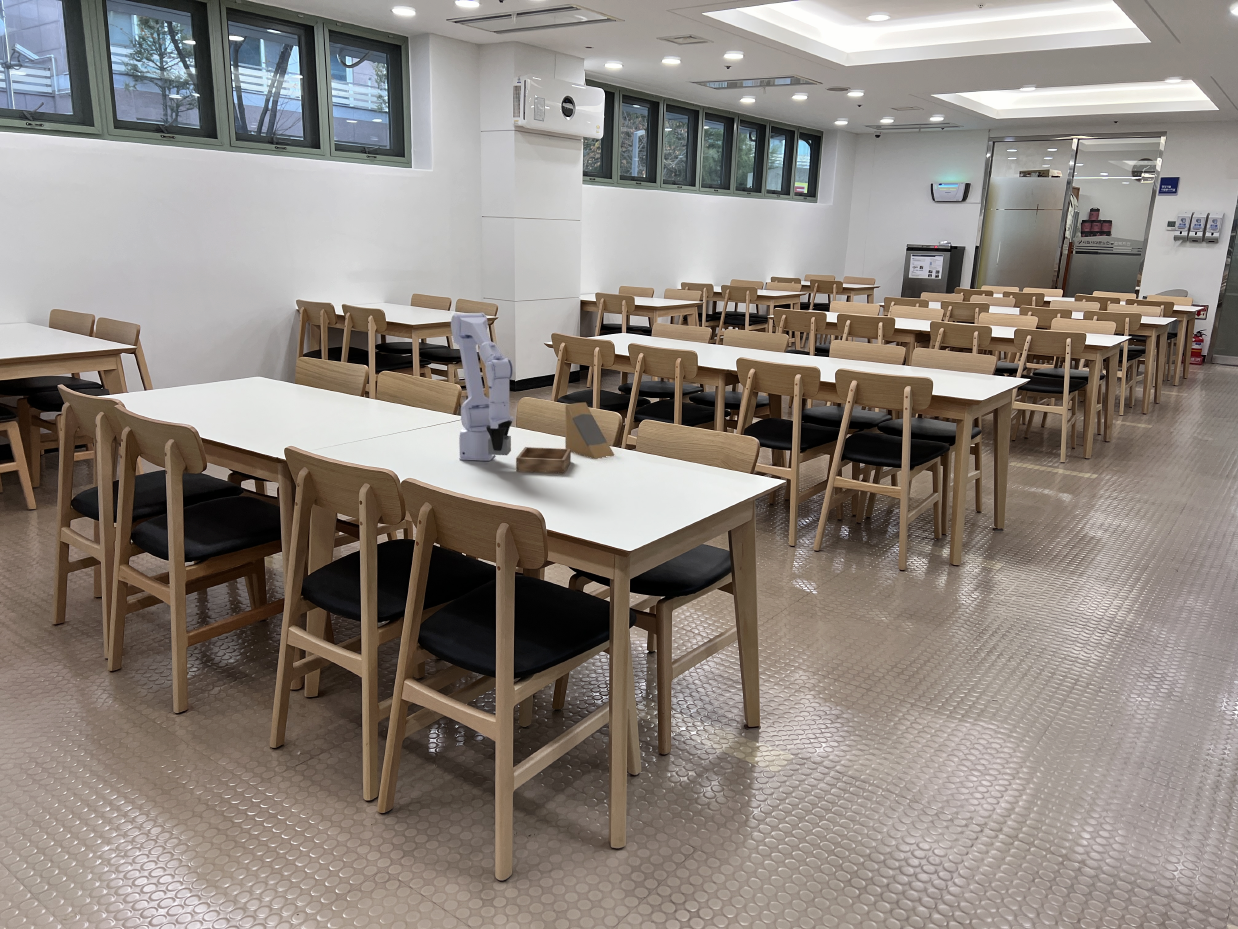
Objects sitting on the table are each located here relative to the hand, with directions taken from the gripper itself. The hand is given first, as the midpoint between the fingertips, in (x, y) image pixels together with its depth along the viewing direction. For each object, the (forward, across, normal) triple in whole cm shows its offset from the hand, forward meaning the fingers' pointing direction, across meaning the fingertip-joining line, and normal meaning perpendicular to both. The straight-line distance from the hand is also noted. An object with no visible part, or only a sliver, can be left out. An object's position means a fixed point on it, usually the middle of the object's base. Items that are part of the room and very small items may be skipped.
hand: (499, 447), depth 252 cm
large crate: (+7, +6, -12) cm, 15 cm away
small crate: (+2, 0, 0) cm, 2 cm away
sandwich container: (+7, +26, -24) cm, 36 cm away
